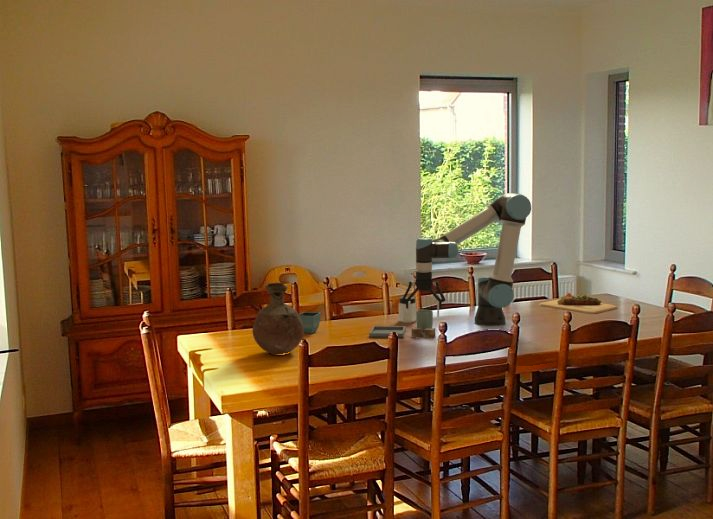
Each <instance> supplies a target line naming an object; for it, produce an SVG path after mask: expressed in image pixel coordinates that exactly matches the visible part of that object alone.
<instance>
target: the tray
mask: <svg viewBox="0 0 713 519" xmlns="http://www.w3.org/2000/svg"><path fill="white" fill-rule="evenodd" d="M406 331H407V327H406V326H405V325H403V326H402V325H399V326H398V325H396V326H395V325H394V326H393V325H373V326H372V328H371V329H370V331H369V333H368V337H369V338H373V339H374V338H376V339H377V338H383V339H384V338H386V339H387V338H388V336H389V334H390V333H391V332H396V333H397V334H398V337H399V338H398V339H401V338H402V339H403V338H404V337H405V333H406Z"/></svg>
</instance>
